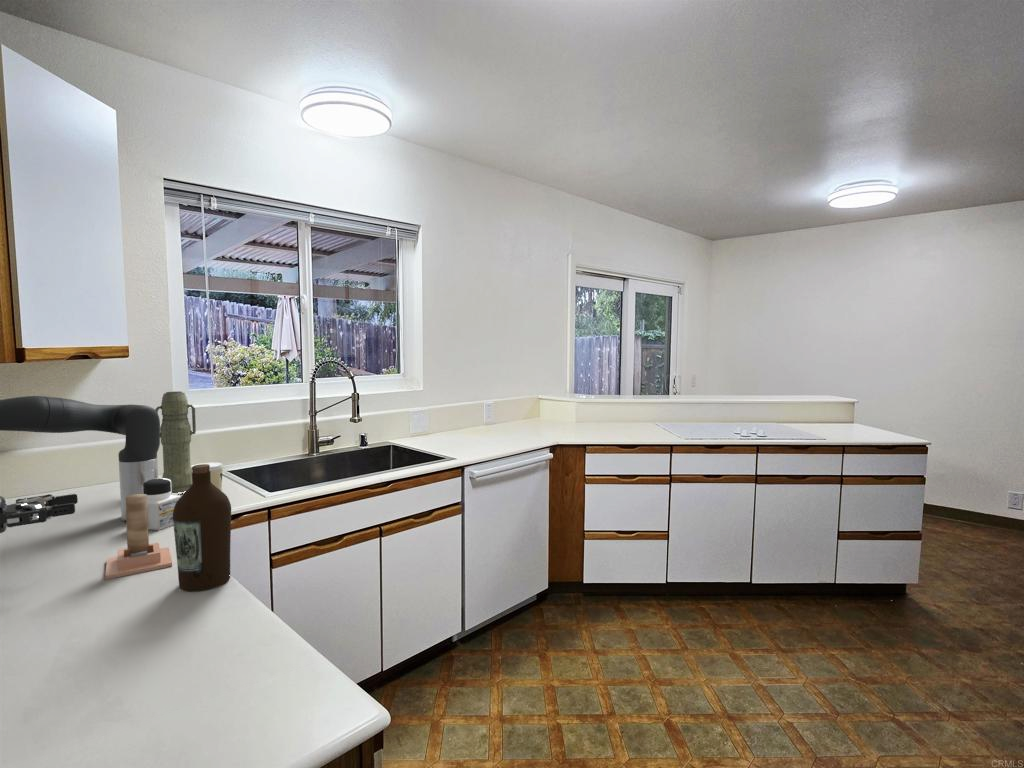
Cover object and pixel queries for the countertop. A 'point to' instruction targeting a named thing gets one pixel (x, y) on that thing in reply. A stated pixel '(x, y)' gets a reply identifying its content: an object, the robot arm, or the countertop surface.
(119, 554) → the clip base
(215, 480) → the coffee cup
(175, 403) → the thermos
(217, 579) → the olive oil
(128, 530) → the tall wooden cylinder
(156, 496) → the container
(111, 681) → the countertop surface
